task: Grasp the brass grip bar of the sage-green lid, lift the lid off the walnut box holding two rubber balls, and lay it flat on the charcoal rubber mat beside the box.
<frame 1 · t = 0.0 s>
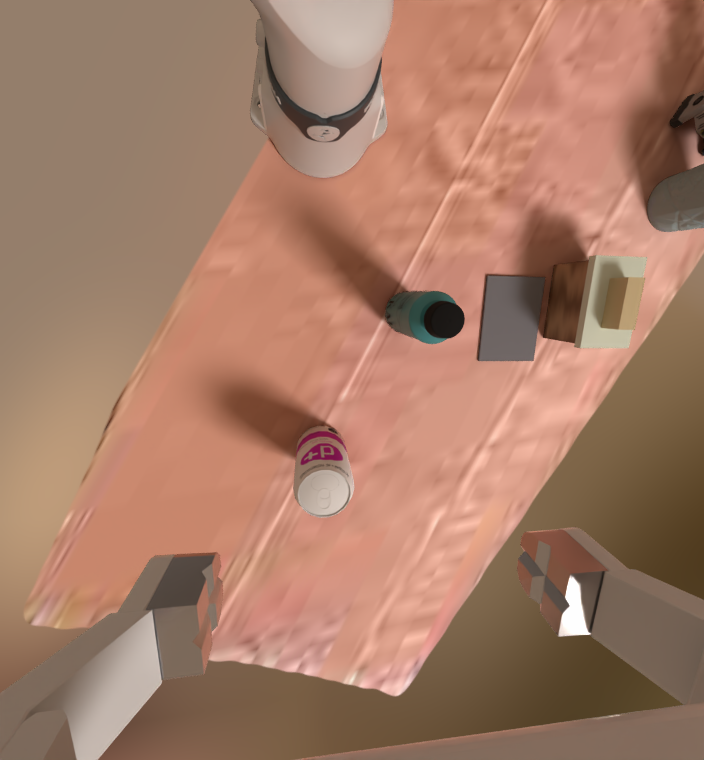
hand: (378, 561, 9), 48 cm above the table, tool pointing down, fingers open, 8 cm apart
box: (567, 302, 59), on the table
supplement can: (320, 446, 60), on the table
beverage bottle: (400, 312, 56), on the table
lid: (606, 303, 51), point 8 cm above the table, touching box
gray embossed pot: (670, 205, 57), on the table
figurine: (700, 116, 55), on the table
mat: (510, 319, 59), on the table
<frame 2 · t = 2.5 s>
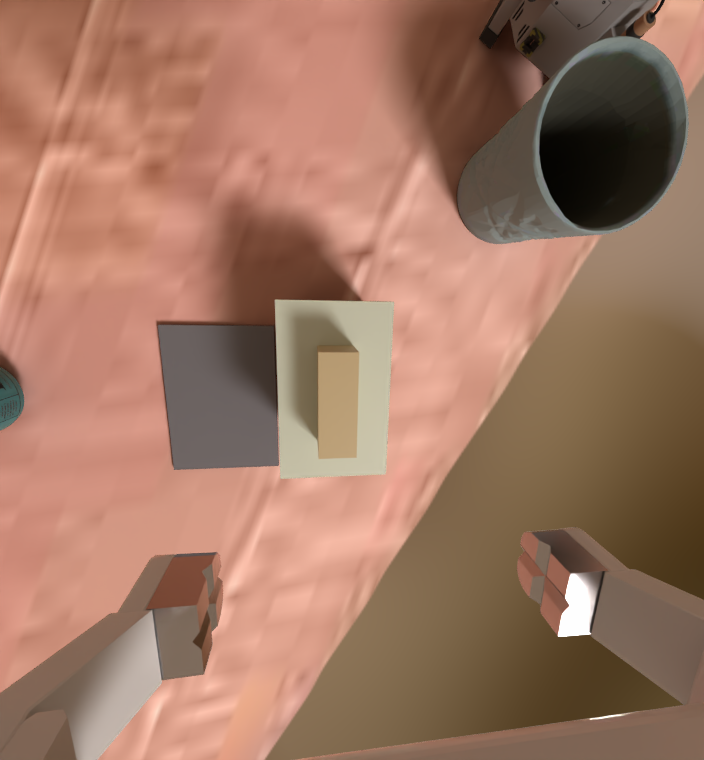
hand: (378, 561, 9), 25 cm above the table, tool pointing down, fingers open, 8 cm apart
beverage bottle: (1, 390, 31), on the table
lid: (333, 389, 26), point 8 cm above the table, touching box
gray embossed pot: (502, 196, 32), on the table
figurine: (543, 28, 29), on the table
mat: (223, 399, 33), on the table
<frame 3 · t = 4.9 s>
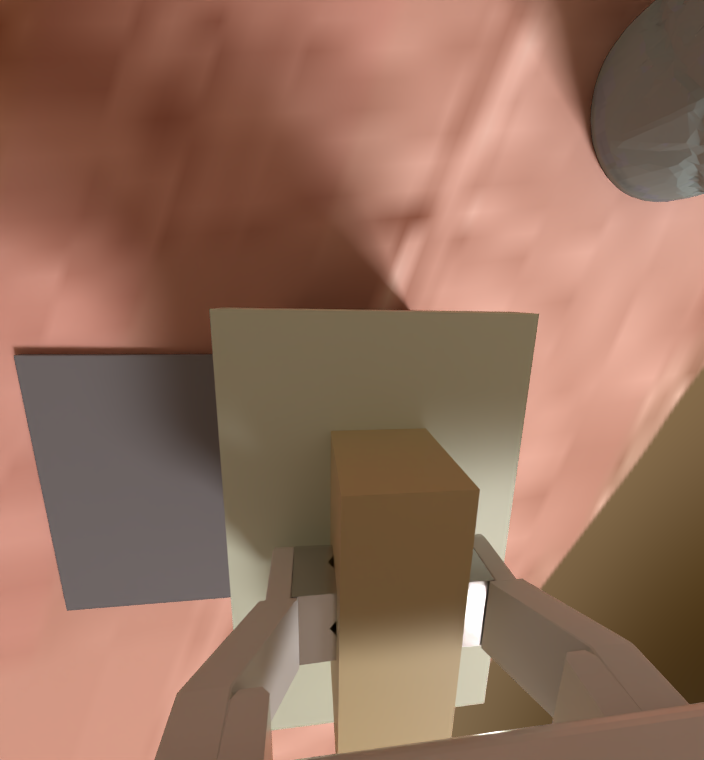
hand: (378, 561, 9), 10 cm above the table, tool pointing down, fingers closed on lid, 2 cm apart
lid: (367, 519, 11), point 8 cm above the table, touching box, gripper
gray embossed pot: (669, 113, 17), on the table
mat: (153, 486, 18), on the table
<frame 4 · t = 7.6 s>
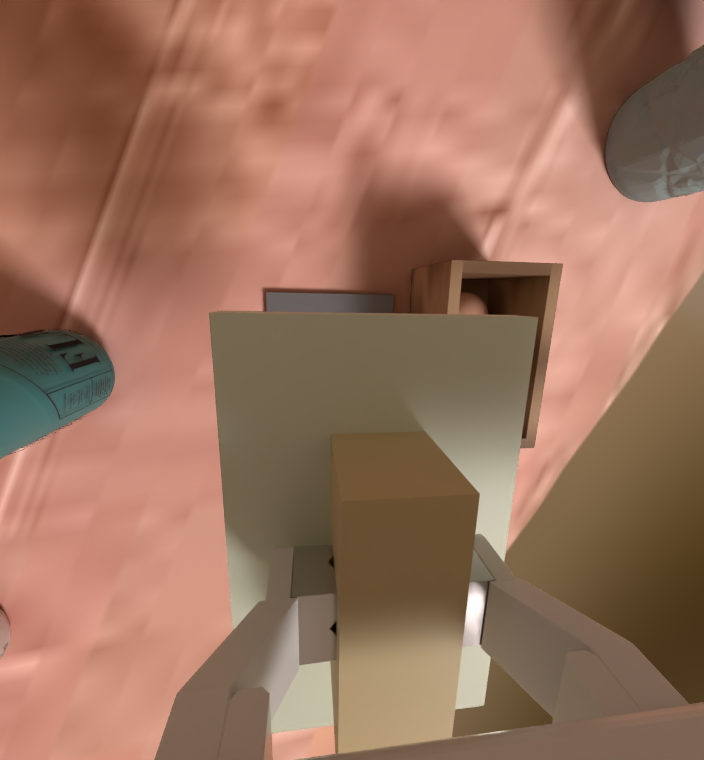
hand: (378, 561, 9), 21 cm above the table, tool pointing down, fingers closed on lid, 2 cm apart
box: (447, 344, 30), on the table
beverage bottle: (84, 368, 27), on the table
lid: (367, 522, 11), point 19 cm above the table, touching gripper
ball terracotta: (453, 315, 28), point 1 cm above the table, touching box
gray embossed pot: (653, 147, 28), on the table
mat: (330, 379, 29), on the table
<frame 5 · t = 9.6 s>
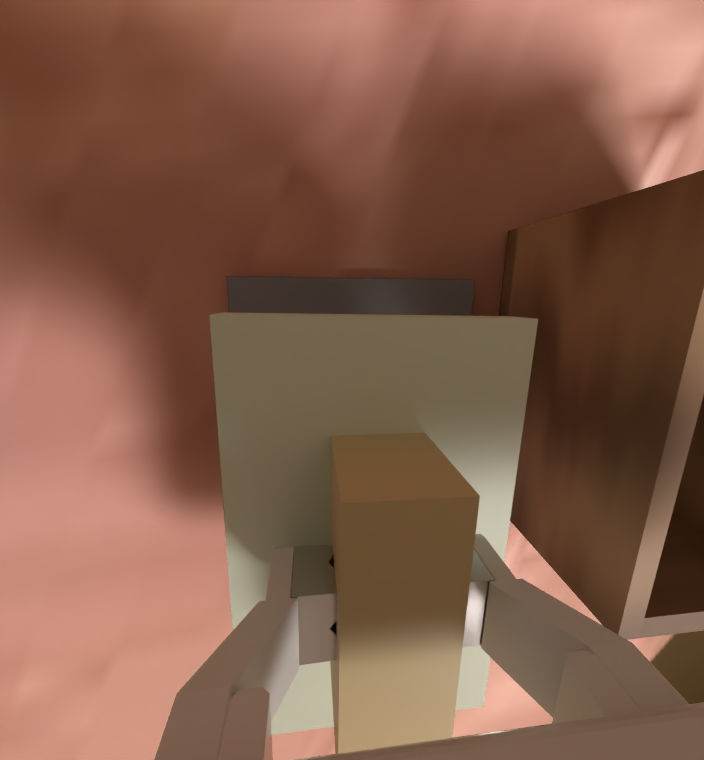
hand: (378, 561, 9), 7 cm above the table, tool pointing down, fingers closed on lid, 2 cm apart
box: (563, 369, 16), on the table
lid: (367, 523, 11), point 5 cm above the table, touching gripper
mat: (353, 436, 16), on the table
when the fingers open (3 cm above the table, at t = 10.7 s): lid drops 1 cm, resting on mat.
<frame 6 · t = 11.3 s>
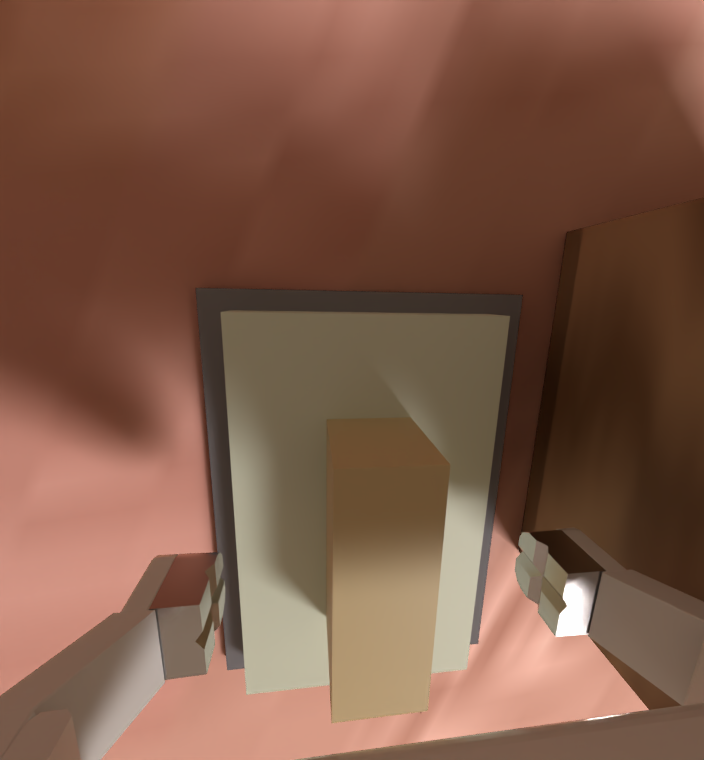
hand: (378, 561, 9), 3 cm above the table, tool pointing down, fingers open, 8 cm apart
box: (626, 407, 13), on the table
lid: (360, 501, 12), resting on mat
mat: (360, 492, 12), on the table
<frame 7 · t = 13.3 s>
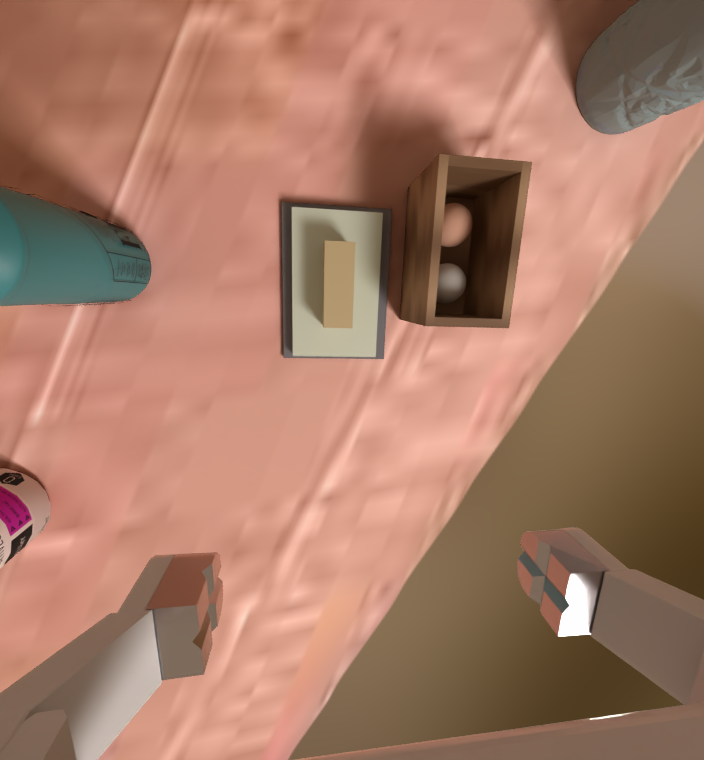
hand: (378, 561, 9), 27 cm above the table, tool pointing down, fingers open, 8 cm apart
box: (438, 258, 34), on the table
ball grey: (438, 284, 34), point 1 cm above the table, touching box
supplement can: (12, 500, 35), on the table
beverage bottle: (123, 266, 31), on the table
lid: (335, 287, 33), resting on mat
ball terracotta: (443, 229, 33), point 1 cm above the table, touching box
gray embossed pot: (617, 86, 32), on the table
mat: (335, 285, 33), on the table
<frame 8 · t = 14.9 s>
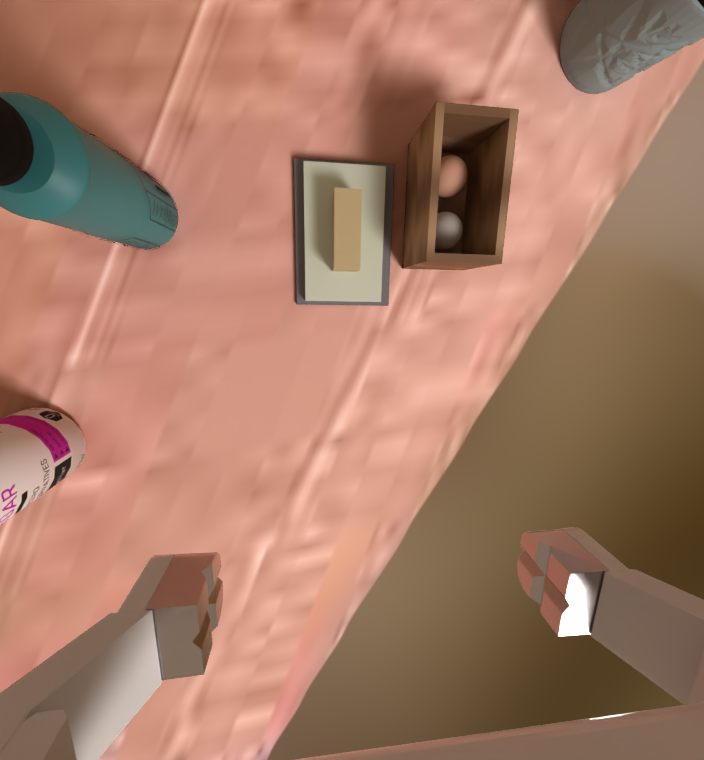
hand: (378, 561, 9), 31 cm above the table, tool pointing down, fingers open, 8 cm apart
box: (437, 210, 37), on the table
ball grey: (437, 234, 37), point 1 cm above the table, touching box
supplement can: (50, 440, 38), on the table
beverage bottle: (151, 219, 34), on the table
lid: (343, 237, 36), resting on mat
ball terracotta: (441, 182, 36), point 1 cm above the table, touching box
gray embossed pot: (598, 48, 35), on the table
mat: (343, 236, 36), on the table
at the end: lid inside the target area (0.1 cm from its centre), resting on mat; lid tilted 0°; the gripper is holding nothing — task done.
